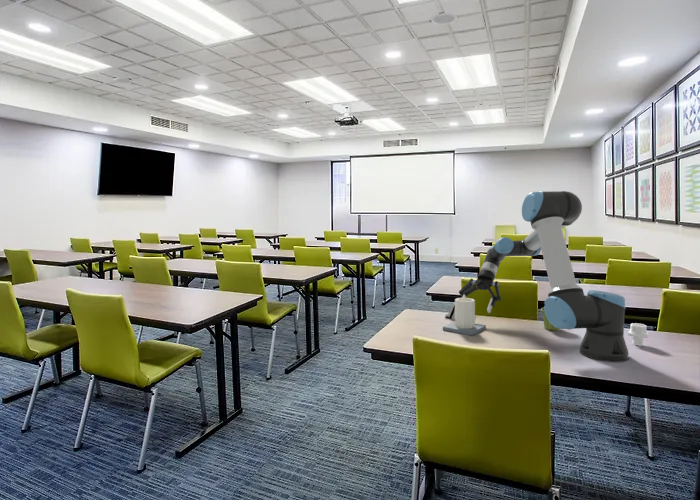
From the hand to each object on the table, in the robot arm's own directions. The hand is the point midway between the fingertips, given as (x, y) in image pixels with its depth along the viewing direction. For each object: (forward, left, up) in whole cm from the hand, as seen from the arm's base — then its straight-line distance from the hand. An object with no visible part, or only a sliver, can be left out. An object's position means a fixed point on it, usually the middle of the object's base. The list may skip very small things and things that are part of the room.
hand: (474, 309), depth 193 cm
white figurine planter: (-62, -12, -7) cm, 64 cm away
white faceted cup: (0, +10, -6) cm, 11 cm away
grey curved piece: (+13, -11, -8) cm, 19 cm away
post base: (0, +10, -7) cm, 12 cm away
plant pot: (-30, -15, -7) cm, 34 cm away
